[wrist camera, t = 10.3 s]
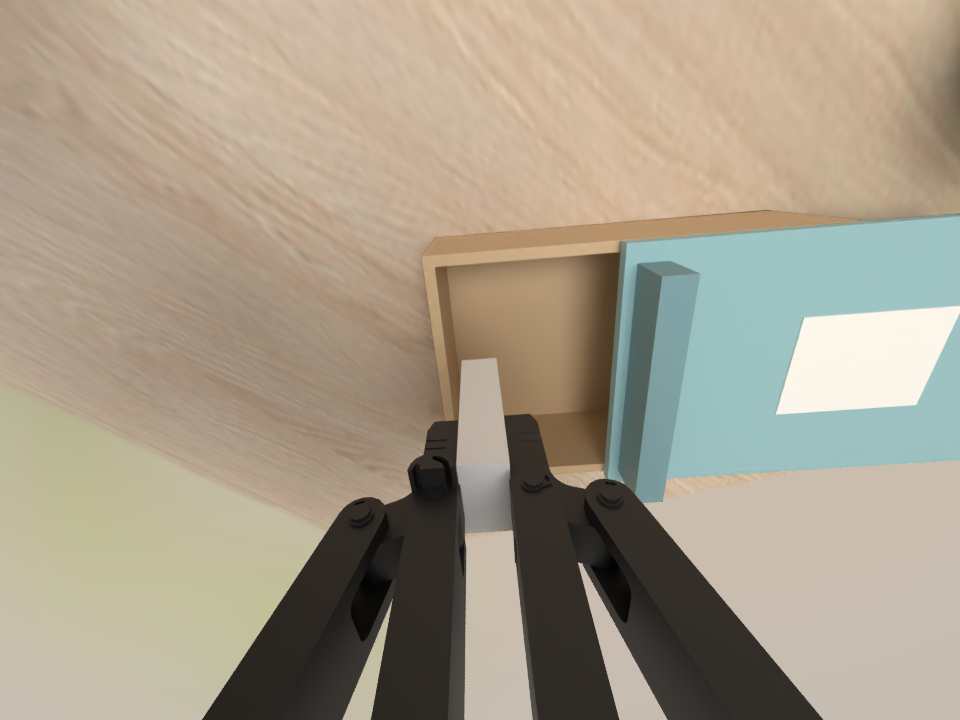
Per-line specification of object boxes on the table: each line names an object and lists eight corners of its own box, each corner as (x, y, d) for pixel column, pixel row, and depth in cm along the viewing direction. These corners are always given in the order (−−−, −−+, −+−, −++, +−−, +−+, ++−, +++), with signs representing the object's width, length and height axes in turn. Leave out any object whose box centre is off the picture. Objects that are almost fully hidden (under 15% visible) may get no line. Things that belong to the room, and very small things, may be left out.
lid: (603, 473, 26) (622, 516, 22) (621, 241, 19) (650, 253, 16) (945, 451, 25) (1015, 492, 22) (1080, 203, 19) (1209, 208, 15)
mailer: (457, 422, 32) (453, 480, 26) (434, 237, 26) (421, 256, 20) (723, 404, 32) (783, 459, 26) (767, 210, 25) (860, 220, 19)
